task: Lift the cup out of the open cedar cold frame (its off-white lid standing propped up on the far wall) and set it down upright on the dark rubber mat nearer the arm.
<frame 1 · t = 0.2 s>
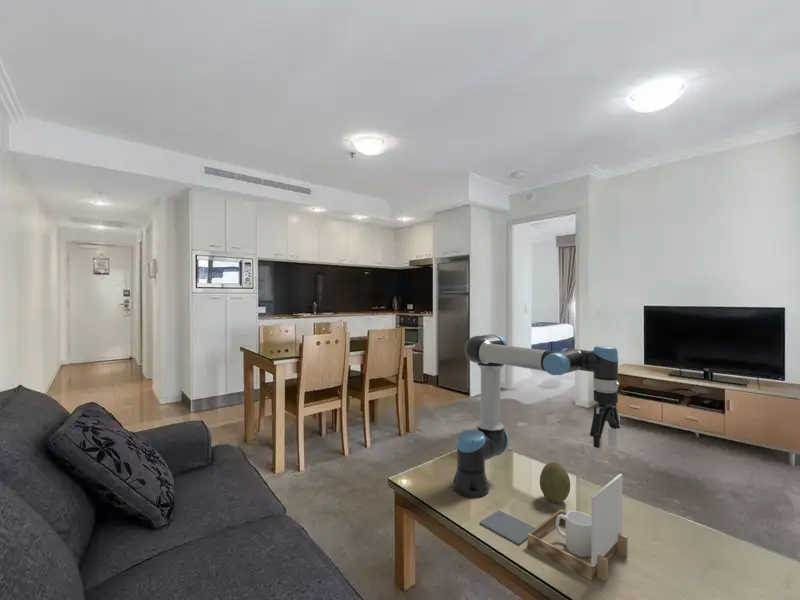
hand: (605, 451, 134), 28 cm above the table, fingers open, 13 cm apart
cold frame: (573, 546, 124), on the table
mat: (508, 527, 135), on the table
lid: (612, 525, 116), resting on cold frame
fruit: (554, 500, 153), on the table
cup: (573, 547, 124), resting in cold frame
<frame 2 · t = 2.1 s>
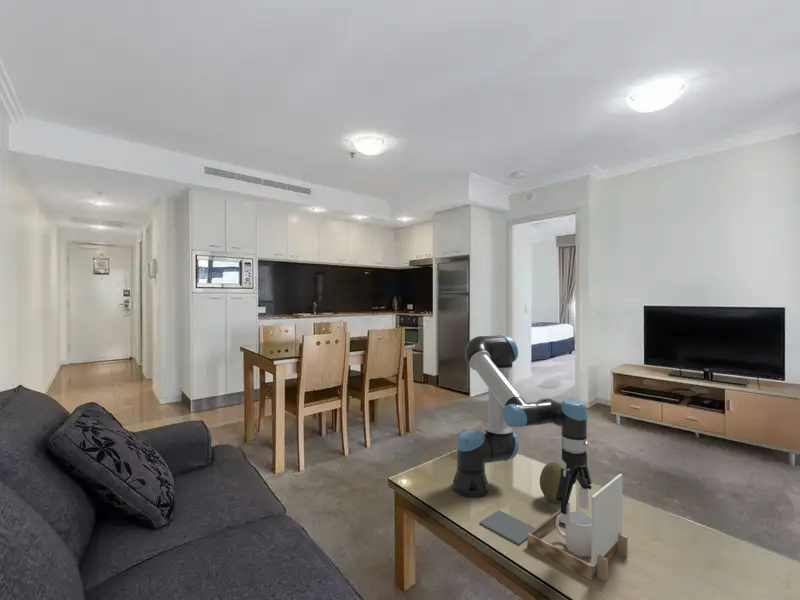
hand: (574, 515, 124), 10 cm above the table, fingers open, 13 cm apart
nothing on the table moved.
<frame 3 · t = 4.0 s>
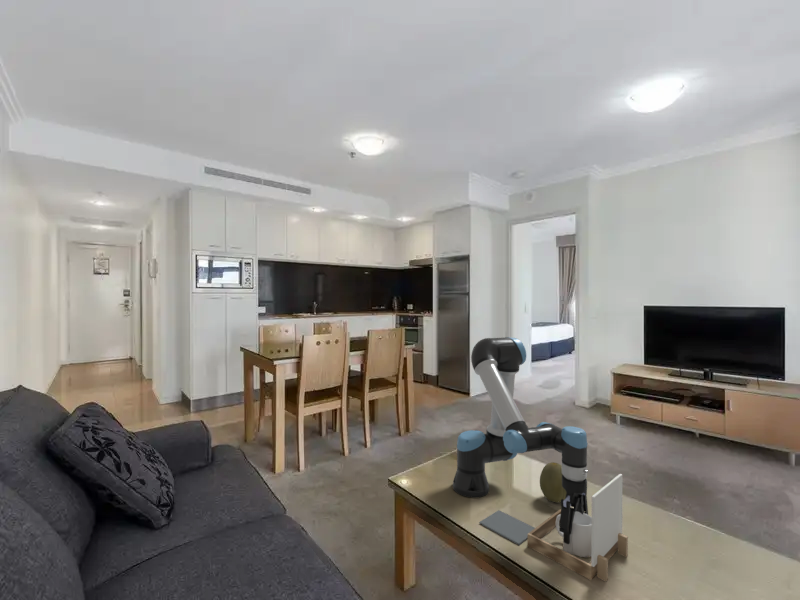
hand: (574, 546, 124), 0 cm above the table, fingers closed on cup, 8 cm apart
cup: (573, 547, 124), resting in cold frame, touching gripper
everything else where it was.
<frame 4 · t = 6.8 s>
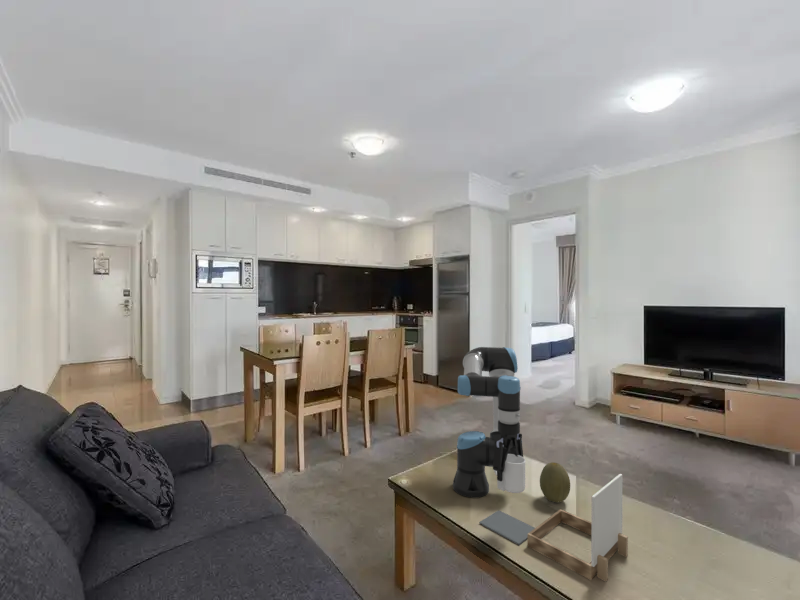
hand: (508, 485, 135), 15 cm above the table, fingers closed on cup, 8 cm apart
cup: (508, 486, 135), point 15 cm above the table, touching gripper
everything else where it was.
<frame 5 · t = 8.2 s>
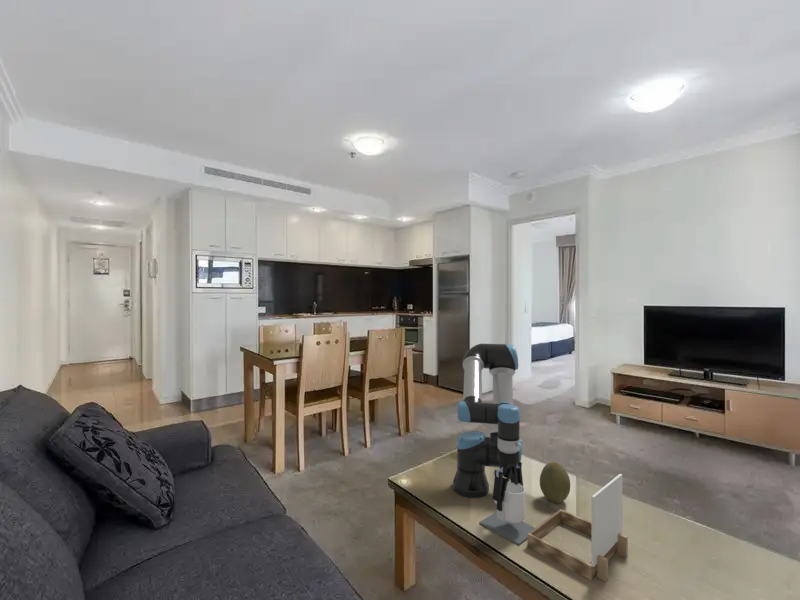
hand: (508, 514, 135), 5 cm above the table, fingers closed on cup, 8 cm apart
cup: (507, 515, 135), point 4 cm above the table, touching gripper
everything else where it was.
when the fingers open (2 cm above the table, at t = 9.5 s): cup drops 1 cm, resting on mat.
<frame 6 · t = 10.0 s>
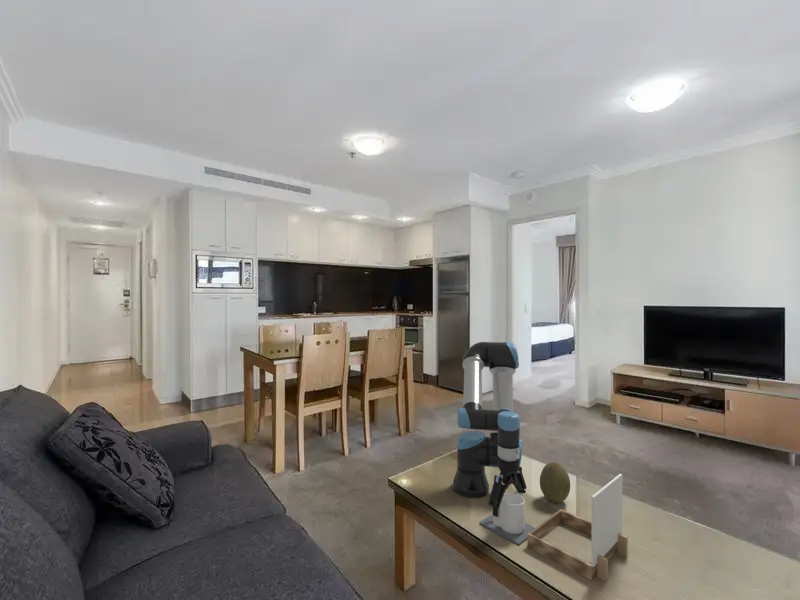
hand: (508, 517, 135), 3 cm above the table, fingers open, 13 cm apart
cup: (507, 525, 135), resting on mat
everything else where it was.
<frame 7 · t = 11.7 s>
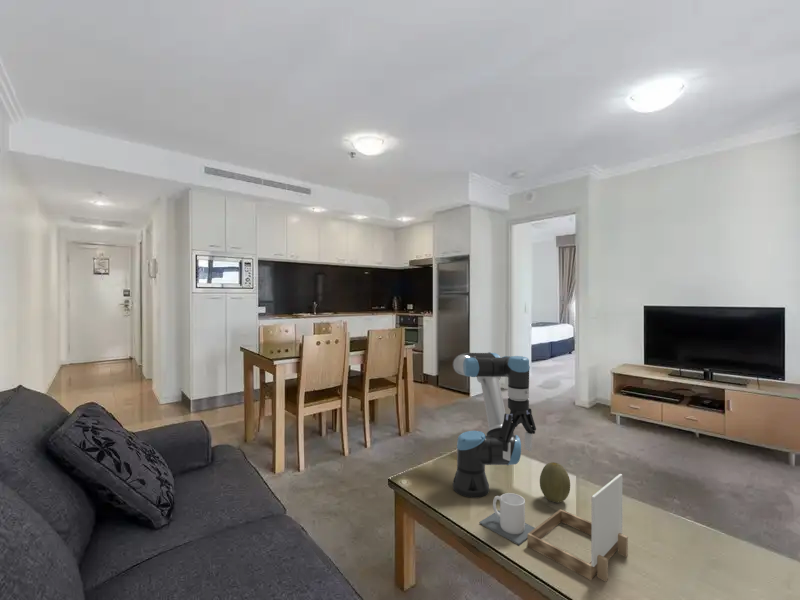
hand: (517, 454, 143), 22 cm above the table, fingers open, 13 cm apart
nothing on the table moved.
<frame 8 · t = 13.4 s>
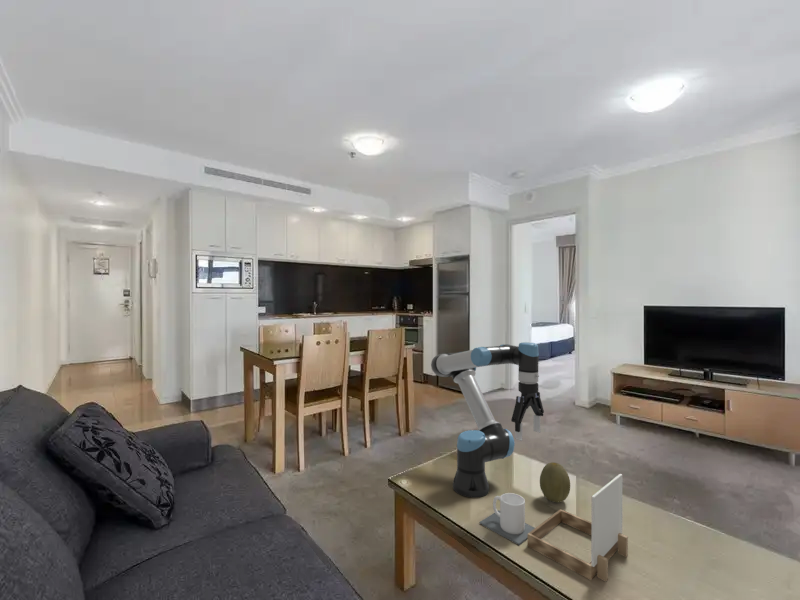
hand: (528, 435, 151), 27 cm above the table, fingers open, 13 cm apart
nothing on the table moved.
at the end: cup inside the target area on the mat (0.2 cm from its centre), point 0.4 cm above the mat's base; cup tilted 0°; the gripper is holding nothing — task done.
